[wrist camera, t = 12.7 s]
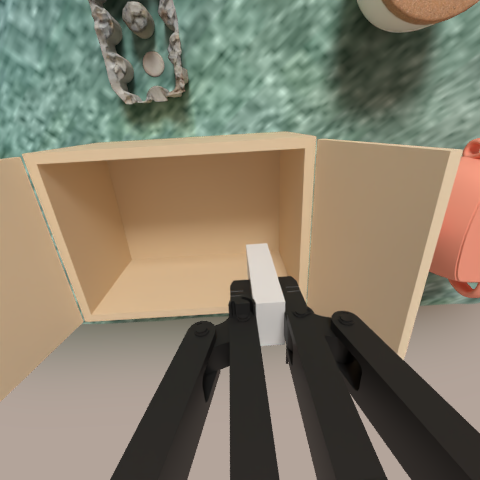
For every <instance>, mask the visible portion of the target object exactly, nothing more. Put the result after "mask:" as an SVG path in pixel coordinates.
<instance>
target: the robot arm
mask: <svg viewBox="0 0 480 480" xmlns="http://www.w3.org/2000/svg"><path fill="white" fill-rule="evenodd" d="M246 256H247V275H248V280H234V281H233V282H232V284H231V285H230V301H229V304H228V307H229V318H228V319H227V320H226V321H225V322H223V323H221V324H219V325H216V326H214V324H212V323H211V322H207V321H200V322H197V323H195V324H193V325H192V326H191V327H190V328H189V329H188V331H187V333H186V335H185V337H184V339H183V341H182V343H181V345H180V346H179V349H178V350H177V352H176V354H175V356H174V358H173V360H172V362H171V364H170V366H169V368H168V370H167V372H166V373H165V375H164V377H163V379H162V381H161V383H160V385H159V387H158V389H157V391H156V393H155V394H154V397H153V398H152V400H151V402H150V404H149V406H148V408H147V410H146V412H145V414H144V416H143V418H142V419H141V421H140V423H139V425H138V427H137V429H136V431H135V433H134V435H133V437H132V439H131V441H130V443H129V444H128V447H127V448H126V450H125V452H124V454H123V456H122V458H121V460H120V462H119V464H118V466H117V468H116V470H115V471H114V473H113V475H112V477H111V479H110V480H187V478H188V475H189V472H190V468H191V465H192V462H193V459H194V456H195V452H196V449H197V446H198V443H199V439H200V436H201V433H202V430H203V426H204V423H205V419H206V417H207V413H208V410H209V407H210V404H211V400H212V397H213V394H214V390H215V387H216V384H217V381H218V378H219V374H220V369H223V368H225V367H228V366H230V480H279V473H278V467H277V459H276V453H275V445H274V438H273V431H272V424H271V417H270V410H269V403H268V396H267V389H266V382H265V375H264V368H263V361H262V354H261V346H269V345H284V343H285V341H286V348H287V349H286V364H288V362H289V366H290V370H291V374H292V378H293V382H294V386H295V391H296V394H297V399H298V403H299V407H300V411H301V415H302V419H303V423H304V428H305V431H306V436H307V440H308V444H309V448H310V452H311V457H312V461H313V465H314V468H315V473H316V477H317V480H388V479H387V477H386V475H385V473H384V471H383V468H382V466H381V464H380V462H379V459H378V457H377V455H376V452H375V450H374V448H373V446H372V443H371V441H370V439H369V436H368V434H367V432H366V430H365V427H364V425H363V423H362V420H361V418H360V416H359V414H358V411H357V409H356V407H355V405H354V402H353V400H352V398H351V395H352V397H353V398H354V400H355V401H356V403H357V404H358V405H359V406H360V408H361V410H362V411H363V412H364V414H365V415H366V417H367V418H368V419H369V421H370V422H371V424H372V425H373V426H374V428H375V429H376V431H377V432H378V433H379V435H380V436H381V438H382V439H383V441H384V442H385V443H386V445H387V446H388V447H389V449H390V450H391V452H392V453H393V455H394V456H395V457H396V459H397V460H398V462H399V463H400V464H401V466H402V467H403V469H404V470H405V471H406V473H407V474H408V476H409V477H410V478H411V480H480V433H479V432H478V431H477V430H476V429H474V428H473V427H472V426H471V425H470V424H469V423H468V422H467V421H466V420H465V419H464V418H463V417H462V416H461V415H460V414H459V413H458V412H457V411H456V410H455V409H454V408H453V407H452V406H450V405H449V404H448V403H447V402H446V401H445V400H444V399H443V398H442V397H441V396H440V395H439V394H438V393H437V392H436V391H435V390H434V389H433V388H432V387H431V386H430V385H429V384H428V383H427V382H426V381H425V380H424V379H422V378H421V377H420V376H419V375H418V374H417V373H416V372H415V371H414V370H413V369H412V368H411V367H410V366H409V365H408V364H407V363H406V362H405V361H404V360H403V359H402V358H401V357H400V356H399V355H398V354H396V353H395V352H394V351H393V350H392V349H391V348H390V347H389V346H388V345H387V344H386V343H385V342H384V341H383V340H382V339H381V338H380V337H379V336H378V335H377V334H376V333H375V332H374V331H373V330H372V329H370V328H369V327H368V326H367V325H366V324H365V323H364V322H363V321H362V320H361V319H360V318H359V317H358V316H357V315H355V314H354V313H351V312H349V311H337V312H335V313H333V315H332V316H331V317H325V316H320V315H317V314H315V313H314V312H313V310H312V309H311V308H309V307H308V306H307V305H306V302H305V300H304V297H303V295H302V293H301V291H300V288H299V286H298V283H297V281H296V280H295V279H294V278H293V277H292V276H284V277H277V273H276V270H275V267H274V264H273V261H272V257H271V254H270V251H269V248H268V244H267V243H263V244H248V245H246ZM350 394H351V395H350Z"/></svg>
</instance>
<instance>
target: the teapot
mask: <svg viewBox="0 0 480 480" xmlns="http://www.w3.org/2000/svg"><path fill="white" fill-rule="evenodd" d="M479 150H480V138H477V139H474V140H472V141H470V142H469V143H468V144H467V145H466V147H465V148H464V150H463V157H461V159H460V163H459V166H458V170H457V173H456V177H455V180H454V184H453V188H452V191H451V195H450V198H449V202H448V205H447V209H446V212H445V216H444V220H443V223H442V227H441V230H440V234H439V237H438V241H437V244H436V248H435V251H434V255H433V259H432V262H431V266H430V269H429V272H432V273H434V274H437V275H439V276H442V277H445V278H448V280H449V282H450V283H451V285H452V286H453V287H454V289H455V290H456V291H457V292H458V293H460V294H461V295H463V296H465V297H469V298H479V297H480V153H479ZM467 282H478V284H477V287H476V288H475V289H472V288H471V287H470V286H469V285H468V284H467Z"/></svg>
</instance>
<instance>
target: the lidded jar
mask: <svg viewBox="0 0 480 480" xmlns="http://www.w3.org/2000/svg"><path fill="white" fill-rule="evenodd" d="M478 1H479V0H357V2H358V5H359V8H360V10H361V11H362V13H363V15H364V16H365V17H366V19H367V20H368V21H369V22H370V23H372V24H373V25H374V26H376V27H378V28H380V29H382V30H384V31H388V32H396V33H402V32H411V31H416V30H420V29H423V28H426V27H429V26H431V25H434V24H436V23H439V22H442V21H445V20H448V19H450V18H452V17H454V16H456V15H458V14H460V13H462V12H464V11H466V10H467V9H469V8H470V7H472V6H473V5H474V4H476V3H477V2H478Z"/></svg>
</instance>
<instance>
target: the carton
mask: <svg viewBox="0 0 480 480" xmlns="http://www.w3.org/2000/svg"><path fill="white" fill-rule="evenodd" d="M315 149H316V136H311V135H305V134H298V133H292V132H270V133H253V134H236V135H220V136H203V137H186V138H169V139H153V140H136V141H119V142H102V143H93V144H86V145H79V146H72V147H66V148H59V149H52V150H45V151H39V152H32V153H25V154H22V156H23V159H24V161H25V164H26V166H27V169H28V172H29V174H30V177H31V180H32V182H33V185H34V187H35V190H36V193H37V195H38V198H39V201H40V203H41V206H42V209H43V211H44V214H45V216H46V219H47V222H48V224H49V227H50V230H51V232H52V235H53V237H54V240H55V243H56V245H57V248H58V251H59V253H60V256H61V259H62V261H63V264H64V266H65V269H66V272H67V274H68V277H69V280H70V282H71V285H72V288H73V290H74V293H75V295H76V298H77V301H78V303H79V306H80V309H81V311H82V314H83V316H84V319H85V322H92V321H108V320H124V319H140V318H156V317H172V316H188V315H204V314H221V313H229V307H228V304H229V301H230V285H231V284H232V282H233V281H234V280H248V275H247V256H246V245H248V244H263V243H267V244H268V248H269V251H270V254H271V257H272V261H273V264H274V267H275V270H276V273H277V277H284V276H292V277H293V278H294V279H295V280H296V281H297V283H298V286H299V288H300V291H301V293H302V295H303V297H304V300H305V302H306V296H307V280H308V263H309V247H310V231H311V214H312V198H313V182H314V165H315Z"/></svg>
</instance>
